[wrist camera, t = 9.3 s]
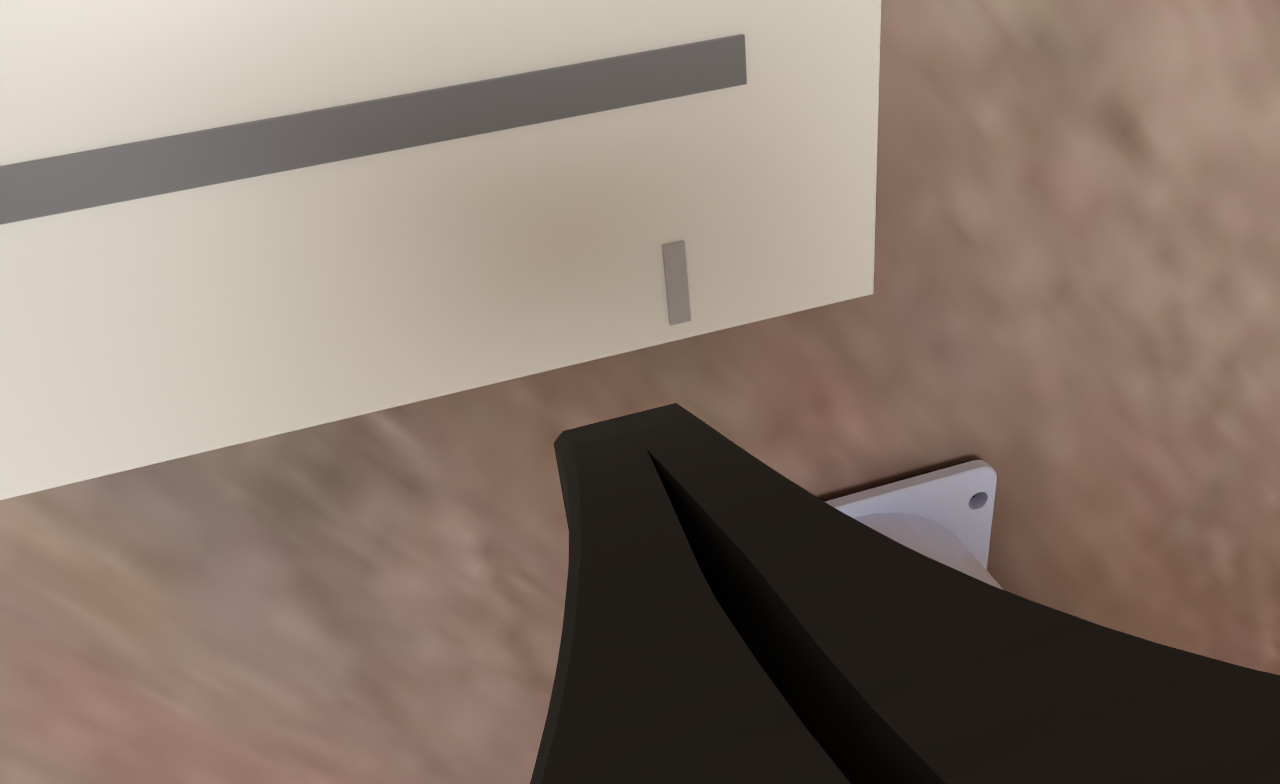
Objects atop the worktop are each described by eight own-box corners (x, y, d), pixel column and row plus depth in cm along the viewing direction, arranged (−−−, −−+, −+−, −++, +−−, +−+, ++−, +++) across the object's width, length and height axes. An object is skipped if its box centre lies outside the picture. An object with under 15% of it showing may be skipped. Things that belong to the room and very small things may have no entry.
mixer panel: (839, 263, 22) (875, 295, 20) (-503, 570, 17) (-569, 638, 16) (843, -314, 16) (893, -321, 15) (-1117, -96, 12) (-1294, -78, 10)
